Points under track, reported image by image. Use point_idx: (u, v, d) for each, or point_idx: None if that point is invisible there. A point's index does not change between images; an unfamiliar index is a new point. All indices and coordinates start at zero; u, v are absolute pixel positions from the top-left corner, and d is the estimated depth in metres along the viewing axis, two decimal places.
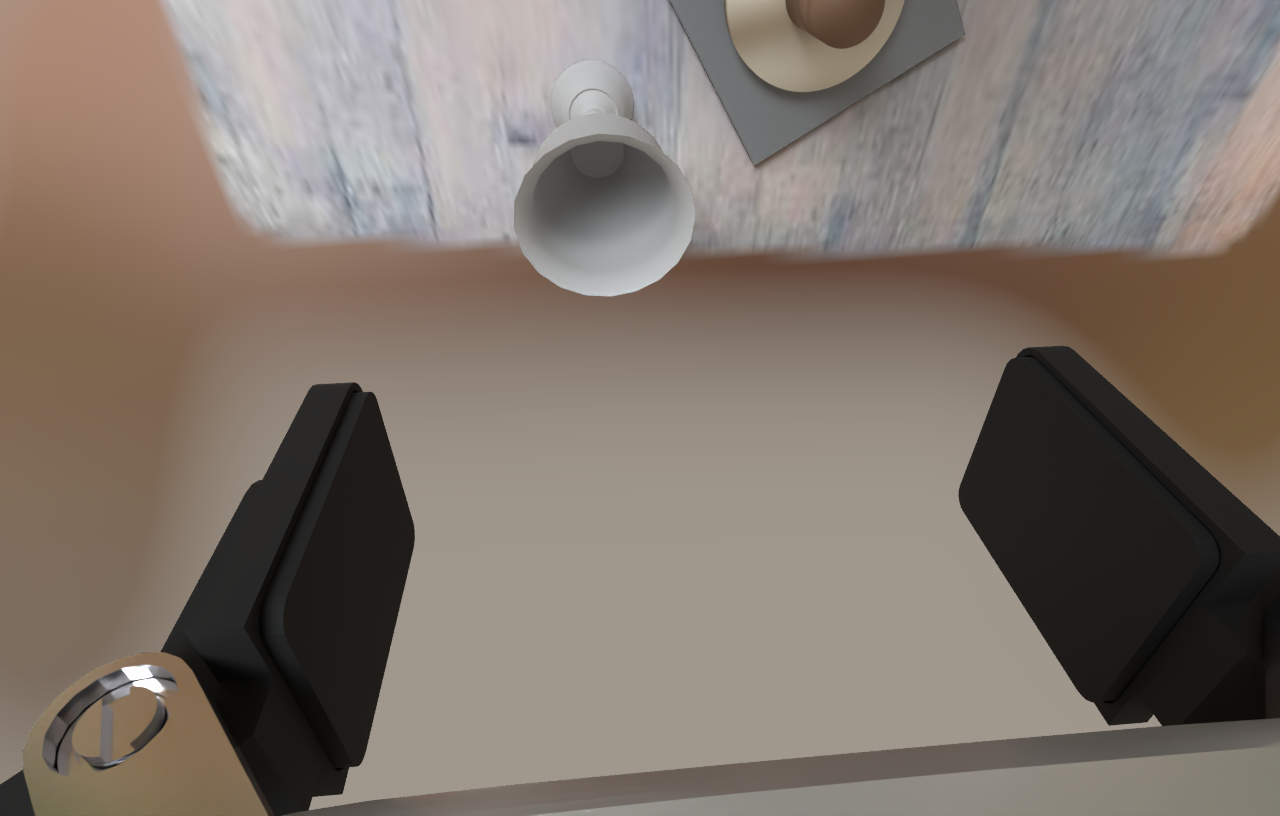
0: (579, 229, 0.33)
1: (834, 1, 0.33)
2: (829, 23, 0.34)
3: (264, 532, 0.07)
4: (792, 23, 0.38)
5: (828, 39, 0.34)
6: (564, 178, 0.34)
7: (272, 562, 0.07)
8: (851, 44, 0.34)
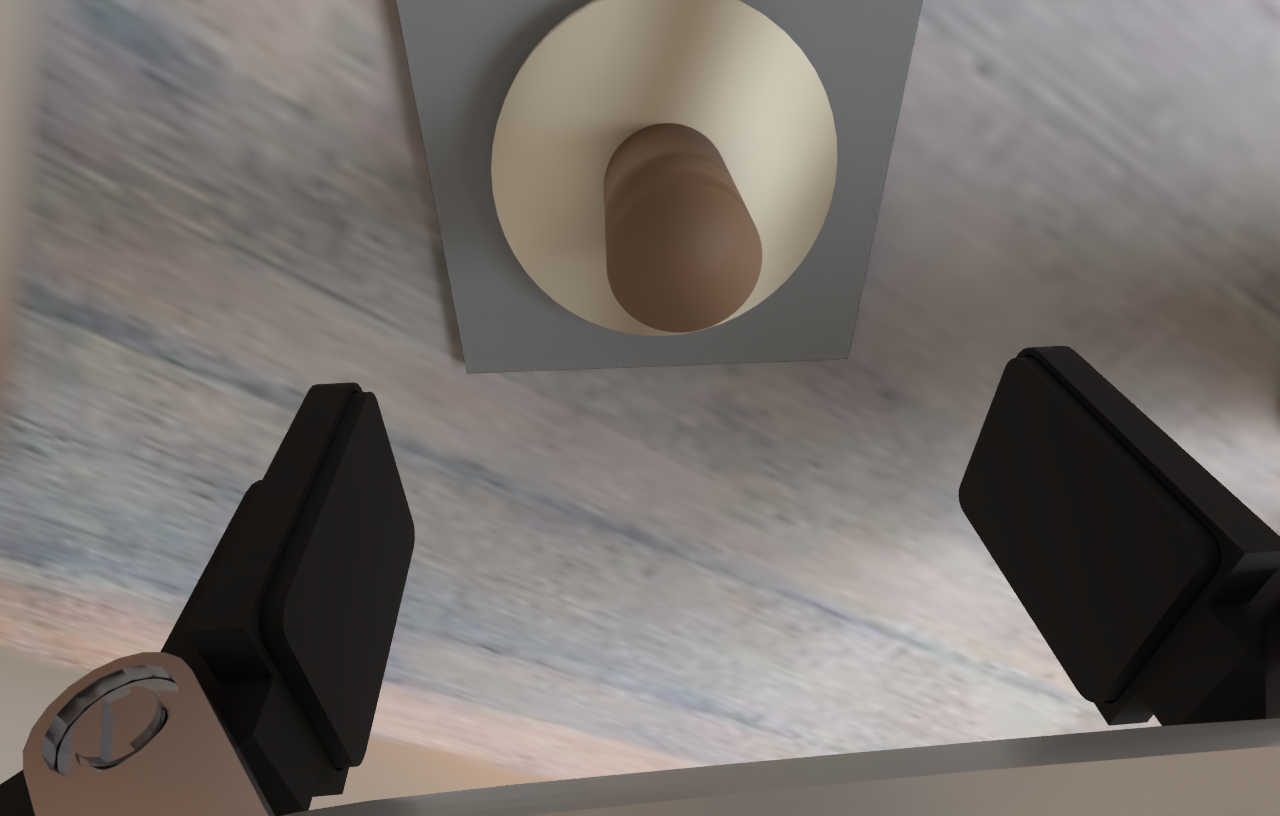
0: None
1: (712, 244, 0.15)
2: (680, 221, 0.15)
3: (264, 532, 0.07)
4: (646, 124, 0.19)
5: (651, 208, 0.15)
6: None
7: (271, 562, 0.07)
8: (614, 248, 0.15)
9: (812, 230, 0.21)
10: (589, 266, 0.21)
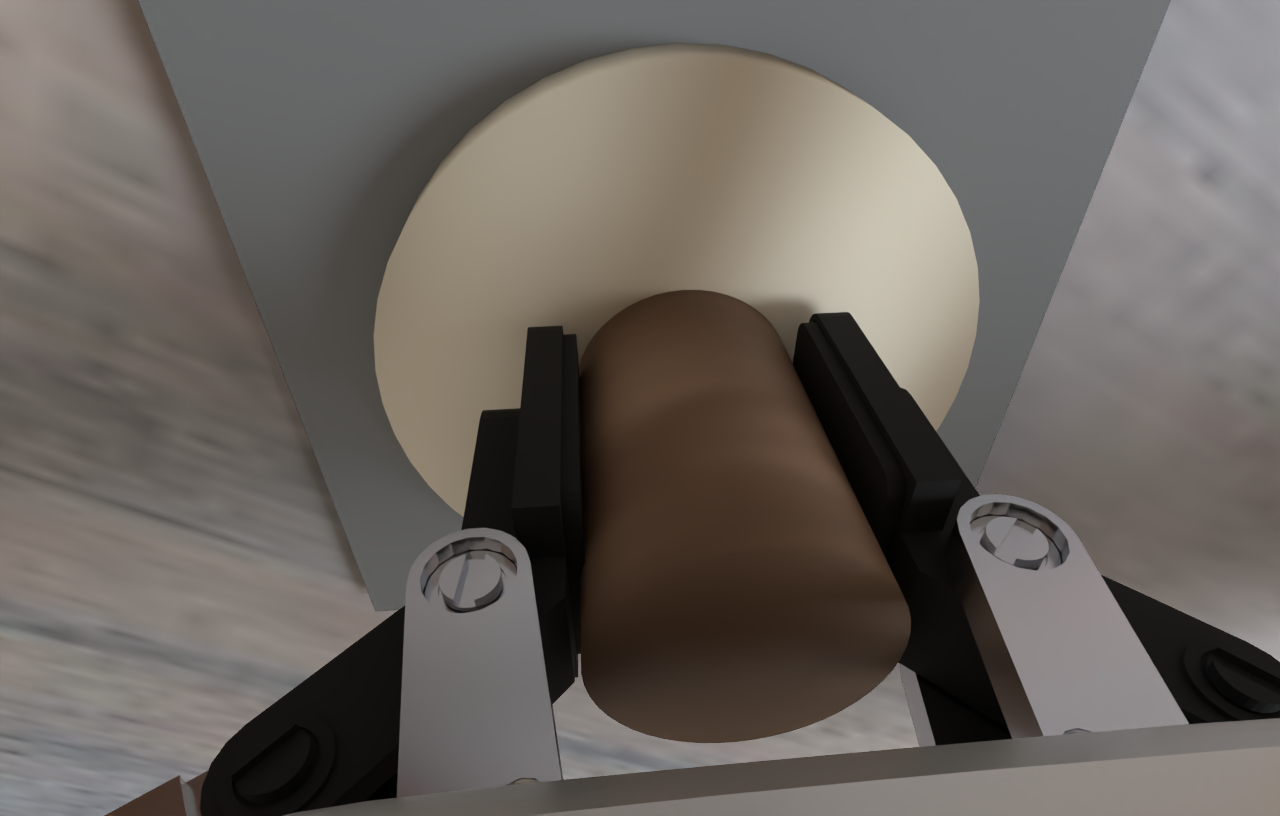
0: None
1: (808, 626, 0.07)
2: (741, 600, 0.07)
3: (542, 437, 0.08)
4: (649, 293, 0.10)
5: (679, 584, 0.07)
6: None
7: (560, 459, 0.08)
8: (596, 648, 0.07)
9: None
10: None
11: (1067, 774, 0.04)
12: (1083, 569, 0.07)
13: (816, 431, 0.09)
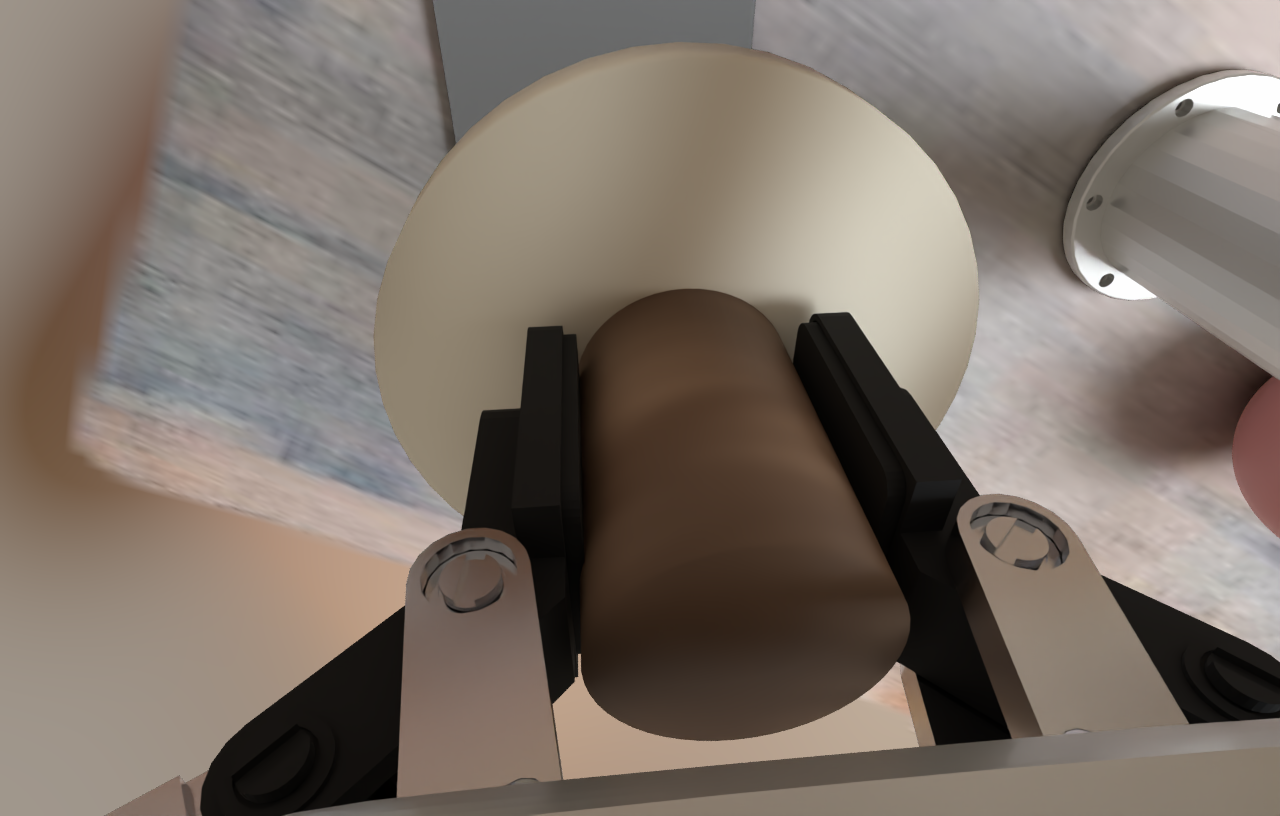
0: None
1: (808, 624, 0.07)
2: (740, 596, 0.07)
3: (542, 437, 0.08)
4: (649, 291, 0.10)
5: (679, 581, 0.07)
6: None
7: (560, 459, 0.08)
8: (596, 645, 0.07)
9: None
10: None
11: (1067, 774, 0.04)
12: (1083, 569, 0.07)
13: (816, 429, 0.09)
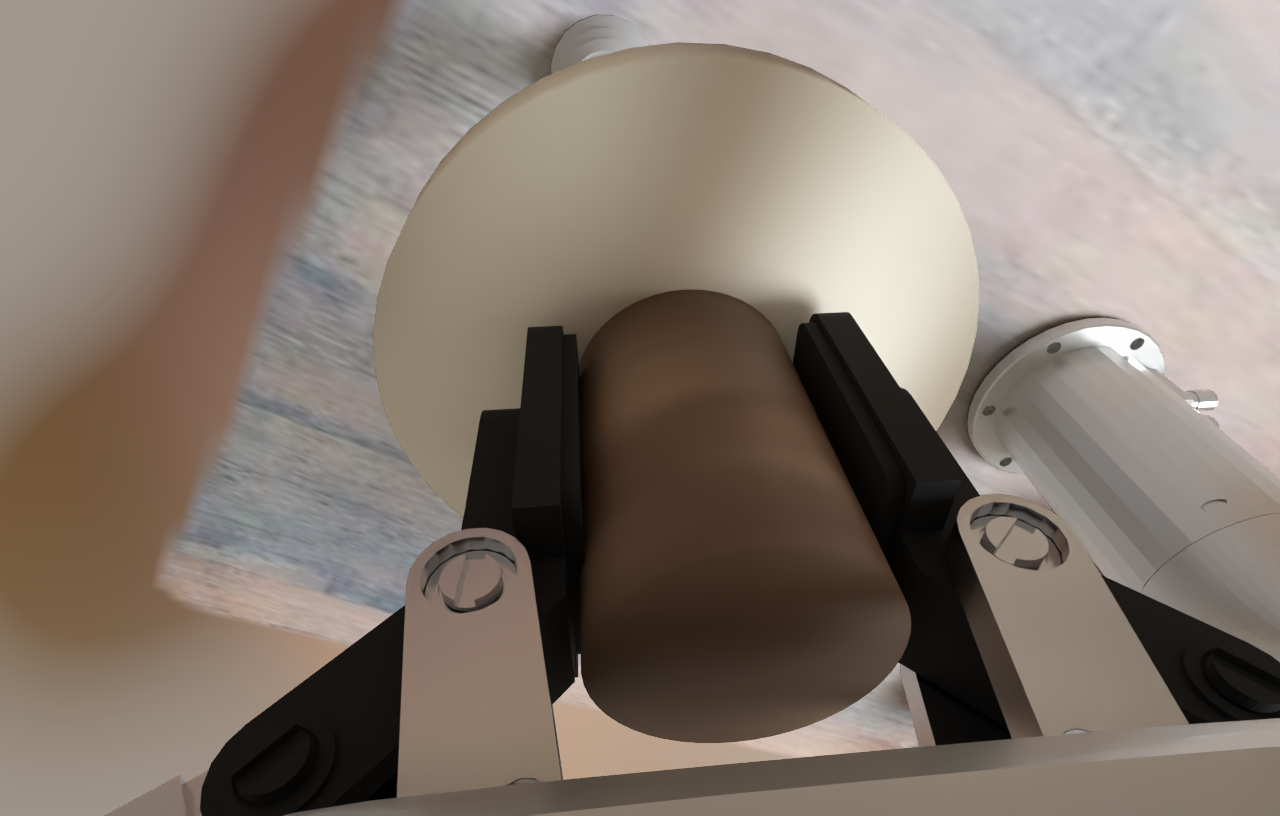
0: None
1: (808, 626, 0.07)
2: (741, 599, 0.07)
3: (543, 437, 0.08)
4: (649, 292, 0.10)
5: (679, 584, 0.07)
6: None
7: (560, 459, 0.08)
8: (596, 647, 0.07)
9: None
10: None
11: (1068, 774, 0.04)
12: (1083, 569, 0.07)
13: (816, 431, 0.09)
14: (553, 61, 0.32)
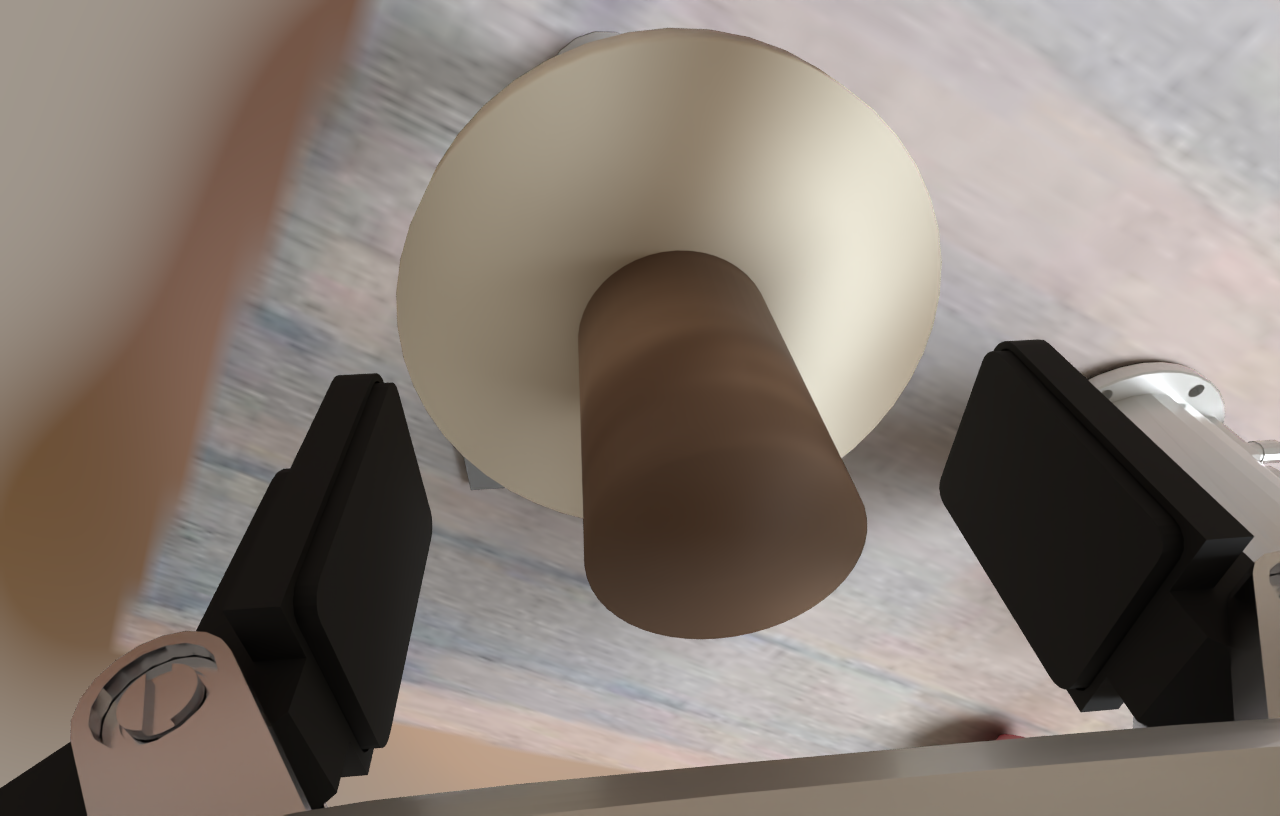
0: None
1: (778, 523, 0.08)
2: (720, 495, 0.08)
3: (295, 516, 0.07)
4: (644, 253, 0.12)
5: (667, 480, 0.08)
6: None
7: (304, 545, 0.07)
8: (597, 540, 0.08)
9: (893, 387, 0.14)
10: (560, 446, 0.14)
11: (1067, 774, 0.04)
12: None
13: (789, 366, 0.10)
14: None
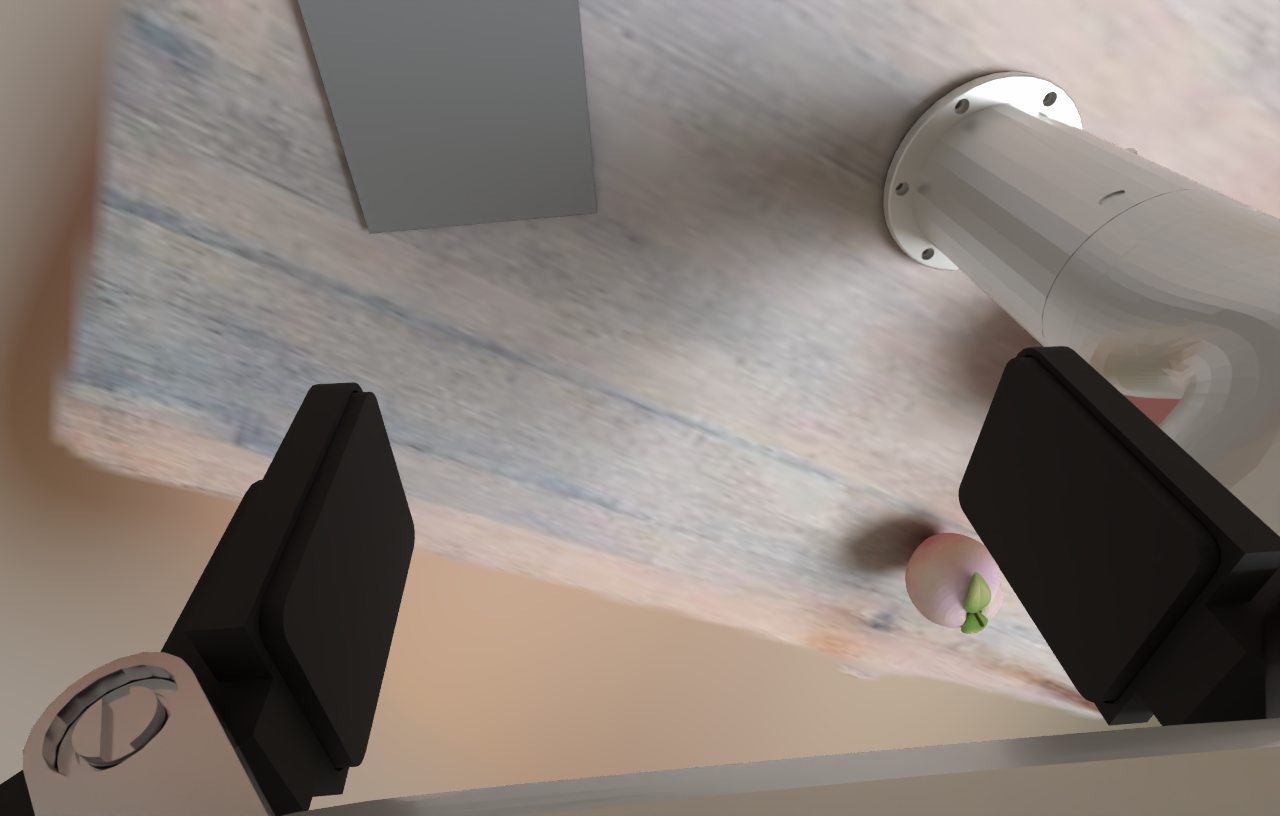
0: None
1: None
2: None
3: (264, 532, 0.07)
4: None
5: None
6: None
7: (272, 562, 0.07)
8: None
9: None
10: None
11: (1067, 774, 0.04)
12: None
13: None
14: None
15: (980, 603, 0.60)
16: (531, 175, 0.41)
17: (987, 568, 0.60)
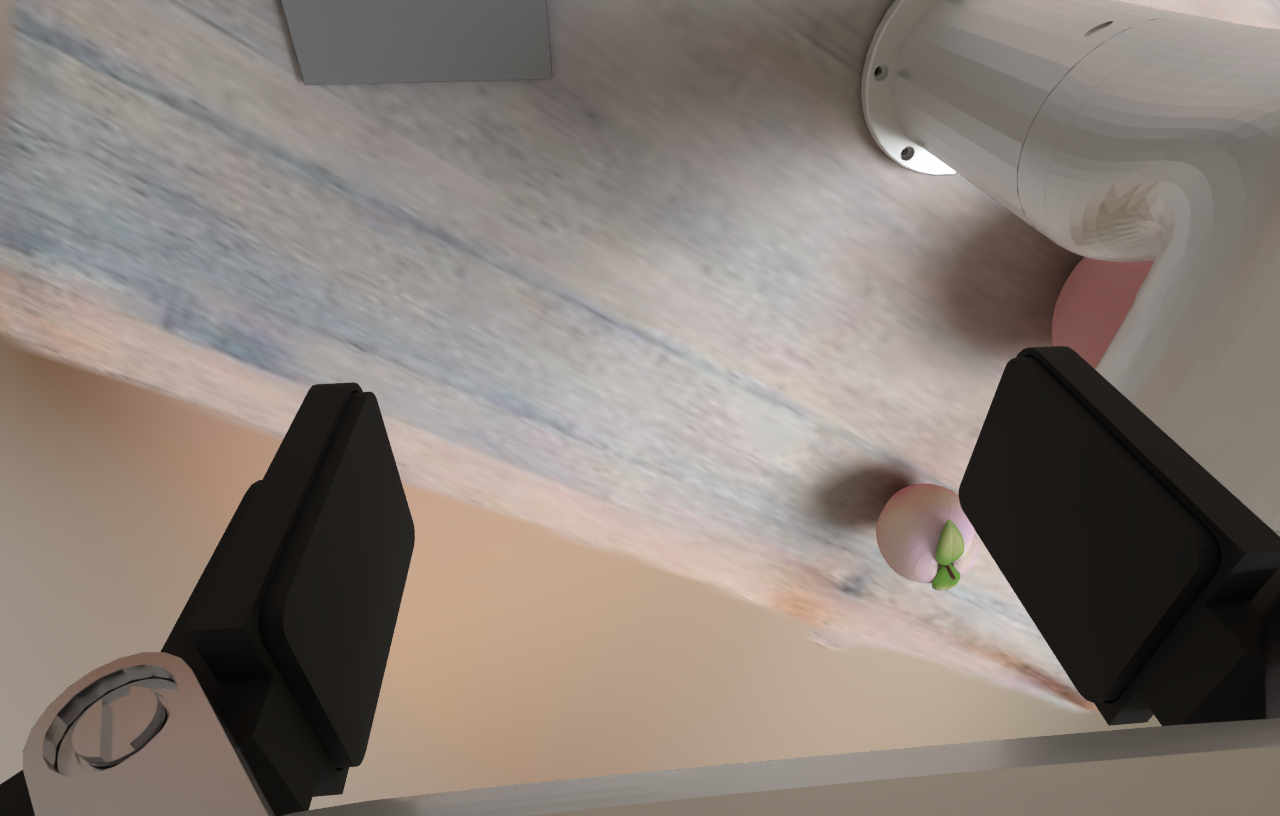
0: None
1: None
2: None
3: (264, 532, 0.07)
4: None
5: None
6: None
7: (272, 562, 0.07)
8: None
9: None
10: None
11: (1067, 774, 0.04)
12: None
13: None
14: None
15: (952, 554, 0.56)
16: (480, 28, 0.38)
17: (961, 517, 0.56)
